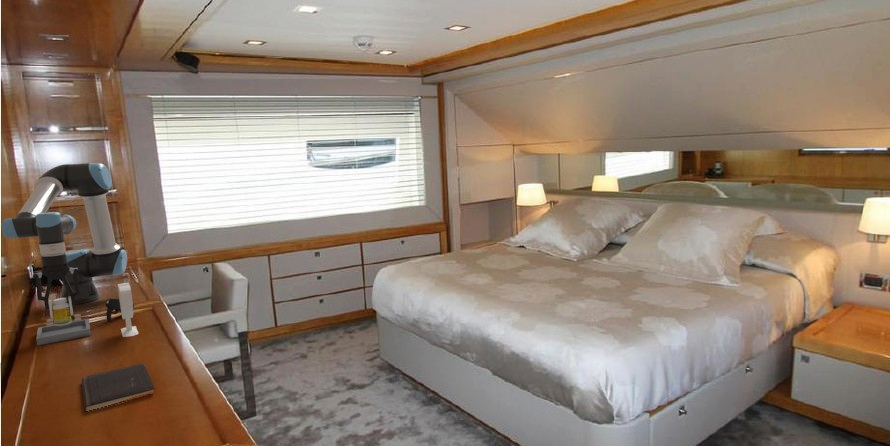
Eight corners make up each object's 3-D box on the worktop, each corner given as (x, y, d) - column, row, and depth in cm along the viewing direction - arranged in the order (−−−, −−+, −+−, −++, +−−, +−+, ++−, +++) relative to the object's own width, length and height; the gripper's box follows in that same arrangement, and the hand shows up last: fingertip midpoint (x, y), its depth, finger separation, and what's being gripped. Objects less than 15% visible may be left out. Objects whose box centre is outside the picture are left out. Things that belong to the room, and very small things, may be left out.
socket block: (47, 325, 213) (47, 319, 213) (81, 319, 219) (80, 313, 219) (47, 332, 204) (46, 325, 204) (81, 325, 210) (80, 319, 210)
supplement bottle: (55, 323, 201) (52, 298, 199) (72, 320, 203) (69, 296, 202) (53, 327, 196) (49, 301, 195) (71, 324, 199) (67, 299, 197)
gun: (133, 326, 226) (137, 302, 230) (106, 319, 211) (112, 294, 214) (126, 326, 227) (131, 302, 230) (100, 319, 211) (105, 294, 215)
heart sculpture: (139, 335, 196) (133, 287, 194) (123, 338, 193) (117, 290, 191) (135, 324, 209) (129, 280, 207) (120, 327, 206) (114, 282, 204)
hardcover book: (144, 370, 164) (143, 362, 164) (155, 396, 146) (154, 388, 146) (82, 384, 155) (81, 377, 155) (85, 414, 137) (84, 406, 136)
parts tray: (39, 333, 202) (38, 327, 202) (89, 324, 211) (88, 318, 211) (37, 345, 189) (36, 338, 189) (91, 335, 198) (90, 328, 198)
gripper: (21, 259, 188) (30, 323, 191) (83, 252, 198) (91, 312, 201) (22, 256, 194) (31, 318, 197) (83, 249, 205) (90, 308, 208)
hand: (62, 315), depth 199 cm, fingers closed on supplement bottle, 5 cm apart
